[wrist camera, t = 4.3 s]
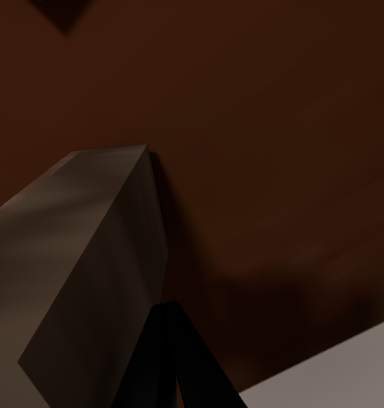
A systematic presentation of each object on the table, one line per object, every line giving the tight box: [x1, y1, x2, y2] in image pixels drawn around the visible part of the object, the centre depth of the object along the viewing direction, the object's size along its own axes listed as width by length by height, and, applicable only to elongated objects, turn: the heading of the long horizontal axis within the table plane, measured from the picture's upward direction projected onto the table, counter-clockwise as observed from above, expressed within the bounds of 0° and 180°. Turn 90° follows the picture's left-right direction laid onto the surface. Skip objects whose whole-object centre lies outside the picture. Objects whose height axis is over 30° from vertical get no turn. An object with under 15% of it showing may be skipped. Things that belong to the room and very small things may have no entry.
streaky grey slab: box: [0, 144, 169, 408], centre depth 11 cm, size 4×7×11 cm, turn 6°
